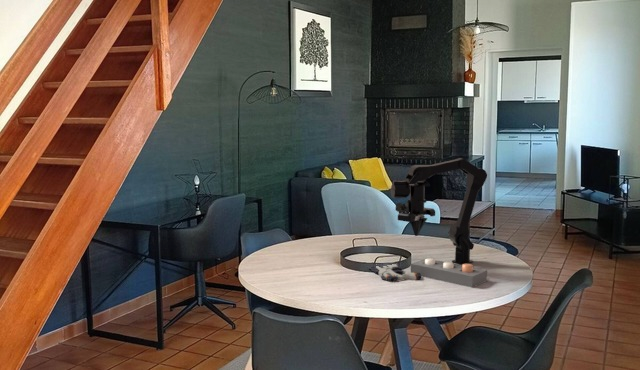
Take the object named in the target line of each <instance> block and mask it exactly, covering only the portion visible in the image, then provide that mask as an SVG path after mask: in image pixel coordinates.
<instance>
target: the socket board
mask: <svg viewBox="0 0 640 370" xmlns="http://www.w3.org/2000/svg"><path fill="white" fill-rule="evenodd" d="M425 259H428V258H427V257H426V258H423V259H420V260H418V261H415V262H413V263H412V262H411V263H410V273H421V277H424V278H428V279H433V280H437V281H442V282H446V283H449V284H455V285H460V286H464V287H469V288H474V287H477V286H478V285H481V284H483V283H485V282H487V281H488V269H484V268H483V269H482V268H479V267H474V266H473V272H472V273H467V272H462V264H459V263H454V266H453V268H452V269H447V268H443V263H444V262H445V261H442V260H437V259H435V264H434V265H427V264H425Z"/></svg>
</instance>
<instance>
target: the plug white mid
mask: <svg viewBox="0 0 640 370" xmlns="http://www.w3.org/2000/svg"><path fill="white" fill-rule="evenodd" d="M443 262H444V263H443V268H447V269H452V268H453V266H454V264H455V263H454V262H452V261H451V262H450V261H443Z"/></svg>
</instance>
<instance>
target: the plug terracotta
mask: <svg viewBox="0 0 640 370" xmlns="http://www.w3.org/2000/svg"><path fill="white" fill-rule="evenodd" d="M461 265H462V272H467V273H472V272H473V267H474V265H473V264H472V263H469V264H461Z"/></svg>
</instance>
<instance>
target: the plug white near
mask: <svg viewBox="0 0 640 370" xmlns="http://www.w3.org/2000/svg"><path fill="white" fill-rule="evenodd" d="M424 259H425V264H427V265H434V264H435V260H436V259H435V258H430V257H429V258H428V259H426V258H424Z"/></svg>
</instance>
